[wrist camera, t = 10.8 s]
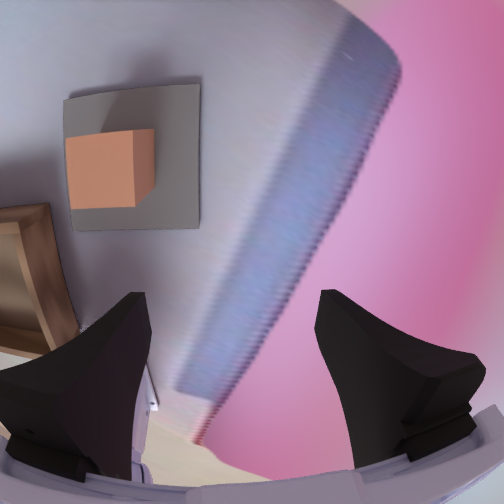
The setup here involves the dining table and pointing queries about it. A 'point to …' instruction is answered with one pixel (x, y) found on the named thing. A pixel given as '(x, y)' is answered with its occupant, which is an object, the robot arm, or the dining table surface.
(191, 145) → the slate mat
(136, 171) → the terracotta block
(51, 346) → the walnut box
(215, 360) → the dining table surface
